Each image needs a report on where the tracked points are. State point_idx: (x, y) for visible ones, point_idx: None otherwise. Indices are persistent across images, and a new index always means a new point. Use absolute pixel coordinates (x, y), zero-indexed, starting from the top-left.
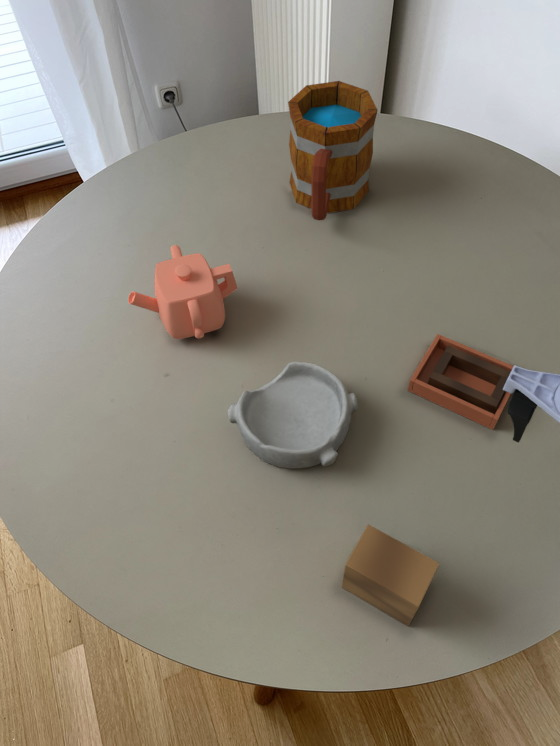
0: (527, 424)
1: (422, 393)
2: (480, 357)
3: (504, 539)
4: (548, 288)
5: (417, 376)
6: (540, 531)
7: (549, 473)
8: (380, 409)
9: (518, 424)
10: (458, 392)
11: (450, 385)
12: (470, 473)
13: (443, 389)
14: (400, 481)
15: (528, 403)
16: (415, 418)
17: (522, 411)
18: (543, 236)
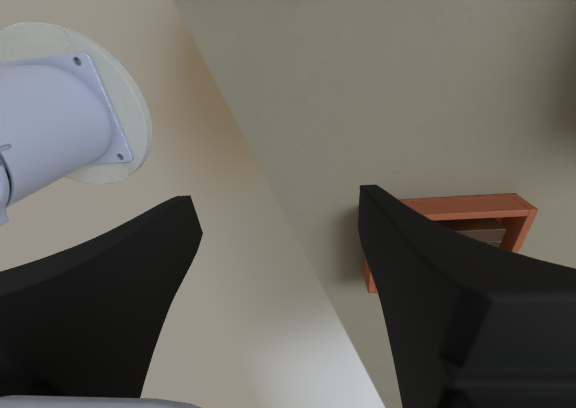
0: (422, 257)
1: (496, 199)
2: None
3: (280, 33)
4: (369, 366)
5: (523, 220)
6: (240, 88)
7: (274, 183)
8: (561, 138)
9: (433, 234)
10: (447, 227)
11: (467, 232)
12: (376, 117)
13: (467, 221)
14: (499, 17)
15: (504, 383)
16: (492, 156)
17: (534, 333)
18: (392, 401)
